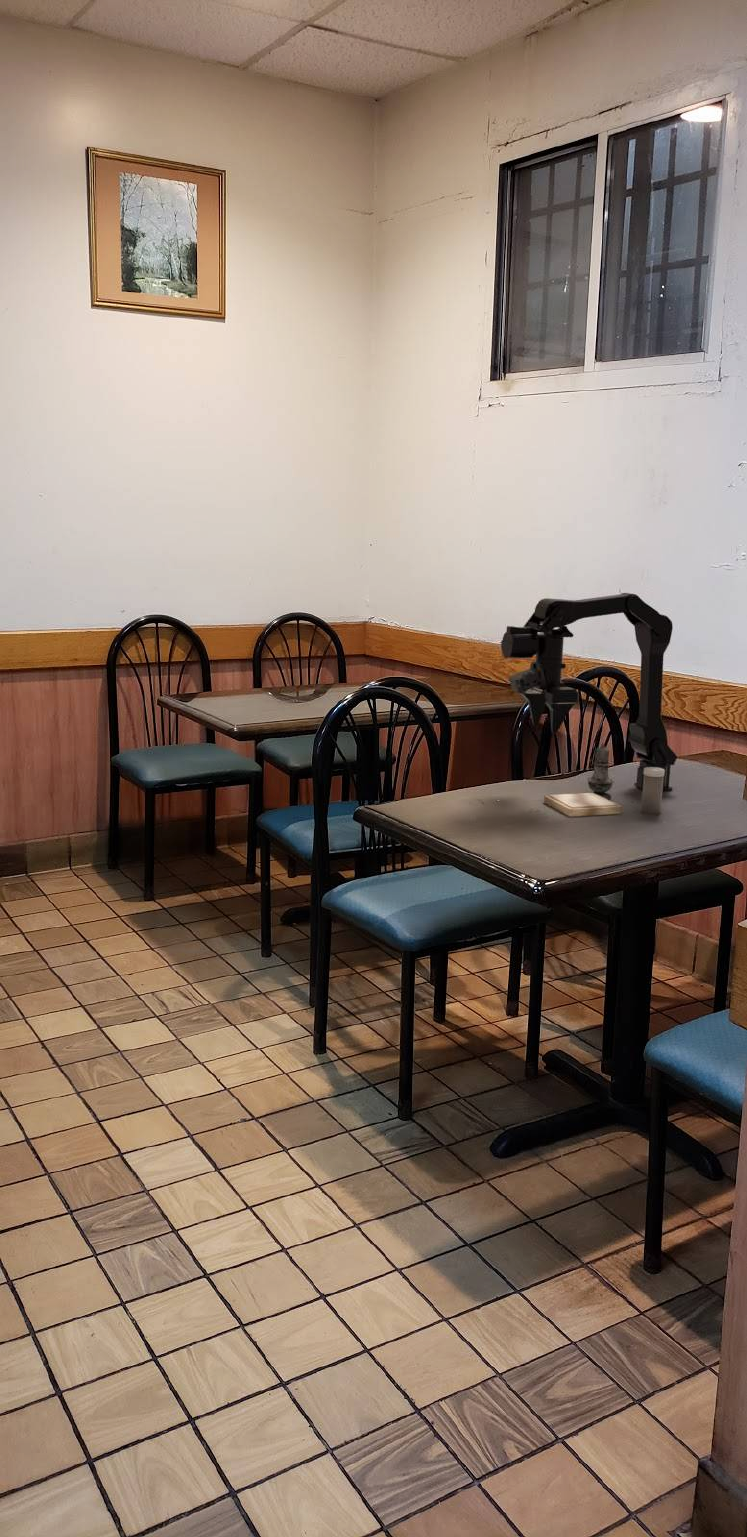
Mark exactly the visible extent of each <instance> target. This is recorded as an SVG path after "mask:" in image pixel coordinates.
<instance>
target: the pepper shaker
mask: <svg viewBox="0 0 747 1537" xmlns="http://www.w3.org/2000/svg"><path fill="white" fill-rule="evenodd" d="M664 772H665V770H664V769H662V768H657V767H646V768H644V781H643V789H642V794H641V807H640V809H641V810H640V812H641V813H644V814H646V815H659V814H661V810H662V803H663V801H662V800H663V799H662V798H663V791H664V790H663V778H664ZM662 790H663V791H662Z"/></svg>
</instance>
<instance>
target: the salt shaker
mask: <svg viewBox="0 0 747 1537" xmlns="http://www.w3.org/2000/svg"><path fill="white" fill-rule="evenodd" d="M609 754H610V750H609V748H608V747H606V746H605V743H604V742H601V745H600V746H599V747H597V748H596V749H595V757H594V759H595V760H594V761H593V762H592V764H593V765H594V768H593V769H594V770H593V774H592V776H591V777H587V778H586V780H587V784H588V788H589V789H590V790H591V791H590V792H589V793H595V794H597V795H599V796H601V797H603V798H605V799H607V800H608V799H610V798H612V795H611V794H610V793H609V791H610V790H611V789H612V787H613V783H615V780H614V779H612V778H610V776H609V766H610V764H611V763H610V762H609V758H610V757H609V756H610V755H609Z"/></svg>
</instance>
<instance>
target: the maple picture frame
mask: <svg viewBox="0 0 747 1537" xmlns="http://www.w3.org/2000/svg"><path fill="white" fill-rule="evenodd" d="M543 803H544V804H546V805H548V806H550V807H551V806H552V808H553V809H555V810H557V811H558V812H561V814H564V815H566V816H568V817H586V816H587V817H588V816H589V817H590V816H600V815H601V816H602V815H606V816H607V815H619V814H622V812H623V810H622V808H623V806H621V805H620V804H617V802H613V801H612V800H609V799H608V798H607V799H605V798H603V797H601V796H599V795H597V794H595V793H590V792H583V793H563V794H562V793H560V794H549V795H544V797H543Z"/></svg>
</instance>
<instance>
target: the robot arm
mask: <svg viewBox="0 0 747 1537" xmlns="http://www.w3.org/2000/svg"><path fill="white" fill-rule="evenodd" d="M622 613H623V615H624V616H625V618H626V619H627V621H628V622H629V623H630V624H632V625H633V626H634V633H635V634H634V635H635V640H636V641H635V642H636V643H637V645H638V649H639V650H640V655H641V656H640V658H641V660H640V679H639V680H640V682H639V683H640V685H639V687H640V688H639V709H638V712H639V714H638V717H637V719H636V721H635V723H631V722H630V723H629V725H628V726H629V727H628V728H629V736H628V739H627V740H628V742H630V746H631V748H632V749H633V750H634V751H635V755H636V758H637V759H639V766H638V767H637V769H636V770H637V772H636V773H637V774H636V782H634V786H636V787H638V788H639V789H641V790H643V781H644V768H646V767H657V768H662V769H664V770H665V772H664V778H663V790H662V792H664V791H673V787H672V786H670V778H671V766H674V765H675V763H676V761H677V758H678V756H677V754H676V753H675V752H674V751H673V749H672V748H671V747H670V746H669V743H668V734H667V729H666V726H665V724H664V722H663V718H662V707H663V706H662V702H663V678H664V677H663V674H664V655H665V652H666V651H667V649H668V646H669V645H670V643H671V638H672V634H673V621H672V620H671V619H670V617H669V616H667V615H665V614H661V613H659V611H657V610H656V609H655V608H653V607H652V606H650V605H649V604H648V603H646V602H645V601H644V600H643V599H641V598H640V596H639V594H635V593H631V592H630V593H629V592H621V593H620V594H613V595H605V596H598V597H591V598H584V599H582V598H581V599H577V600H575V599H572V600H571V599H561V598H542V599H540V600H538V602H537V604H536V605H535V608H534V612H533V613H532V615H531V616H530V617H528V620H527V621H526V623H524V625H523V626H513V625H510V626H509V625H508V626H506V631H505V633H504V634H503V636H502V640H501V641H500V642H501V643H500V647H501V648H500V649H501V654H502V656H503V657H504V658H505V659H531V658H533V657H534V656H535V660H532V661H531V662H530V668H529V669H525V670H522V671H519V672H517V673H515V674H512V675H510V676H509V677H508V681H509V684H510V687H511V690H512V692H516V693H517V694H520V695H521V696H522V697H523V698H524V699H525V700H526V702H527V704H528V709H529V713H530V717H531V722H532V725H533V726H538V725H539V724H540V721H541V718H542V715H543V712H544V709H545V707H546V706H547V707H548V708H549V713H550V714H549V715H550V730H551V733H552V734H557V733H558V732H559V729H560V728H561V726H562V724H563V723H564V721H565V719H566V717H567V715H568V714H569V713H570V711H571V710H572V708H573V707H574V706H576V704H577V703H579V699H580V693H579V692H578V691H577V689H576V688H573V687H569V686H565V685H566V684H565V682H563V681H562V671H563V669H566V668H567V667H566V666H567V665H566V664H567V663H564V662H563V654H564V640H565V639H564V638H573V637H574V633H572V631H570V630H569V629H568V625H571V624H573V623H575V622H577V621H579V620H582V619H585V618H594V617H602V616H609V615H615V614H616V615H617V614H622Z"/></svg>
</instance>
